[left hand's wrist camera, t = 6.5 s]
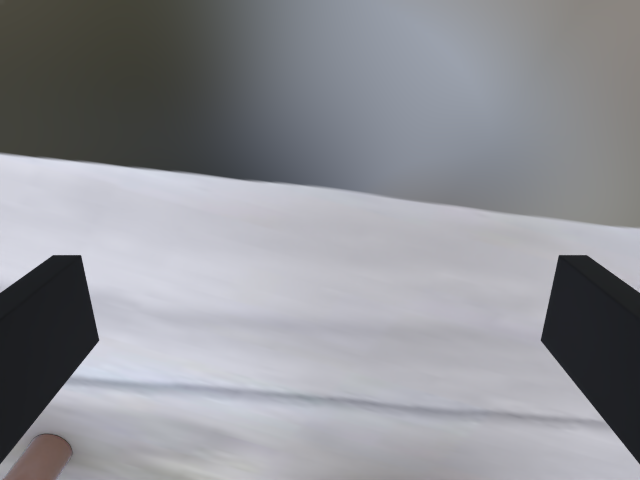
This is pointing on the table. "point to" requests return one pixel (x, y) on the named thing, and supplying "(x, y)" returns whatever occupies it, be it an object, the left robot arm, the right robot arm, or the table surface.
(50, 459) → the jar
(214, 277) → the table surface
